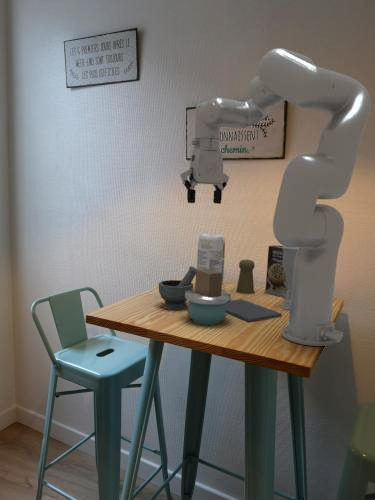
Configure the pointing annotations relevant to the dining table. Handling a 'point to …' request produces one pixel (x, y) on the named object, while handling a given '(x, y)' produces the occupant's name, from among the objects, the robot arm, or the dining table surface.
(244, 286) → the olive pawn
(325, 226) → the robot arm
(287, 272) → the chalice
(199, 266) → the juice carton
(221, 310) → the bowl
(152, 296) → the dining table surface
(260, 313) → the mat
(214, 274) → the lid
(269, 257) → the coffee box
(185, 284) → the mortar and pestle
